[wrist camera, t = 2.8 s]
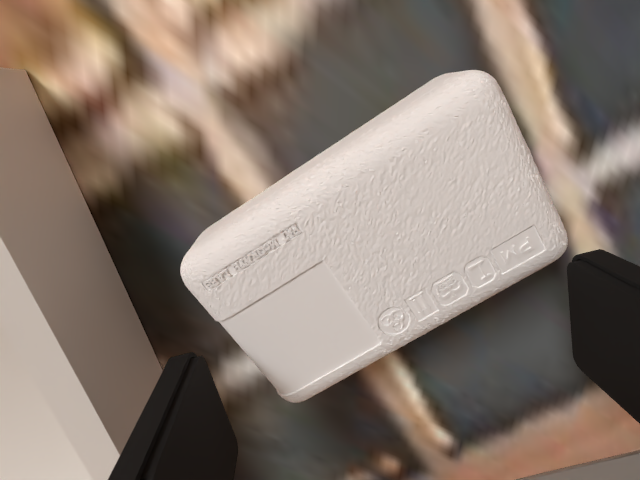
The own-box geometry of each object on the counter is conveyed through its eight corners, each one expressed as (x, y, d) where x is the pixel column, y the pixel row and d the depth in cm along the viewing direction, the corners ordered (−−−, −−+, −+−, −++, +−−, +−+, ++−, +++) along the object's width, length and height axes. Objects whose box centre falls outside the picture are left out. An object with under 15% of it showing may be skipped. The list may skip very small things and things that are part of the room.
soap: (449, 62, 11) (498, 53, 9) (526, 221, 13) (589, 256, 10) (191, 233, 13) (160, 274, 10) (291, 357, 14) (289, 421, 12)
